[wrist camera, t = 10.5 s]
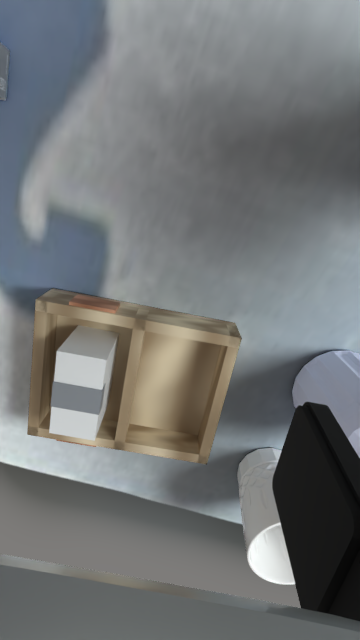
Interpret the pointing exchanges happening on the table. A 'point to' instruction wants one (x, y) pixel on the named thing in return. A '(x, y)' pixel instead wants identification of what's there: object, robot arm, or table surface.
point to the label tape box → (4, 70)
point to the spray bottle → (333, 389)
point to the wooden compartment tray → (140, 374)
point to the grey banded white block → (82, 382)
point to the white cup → (263, 517)
